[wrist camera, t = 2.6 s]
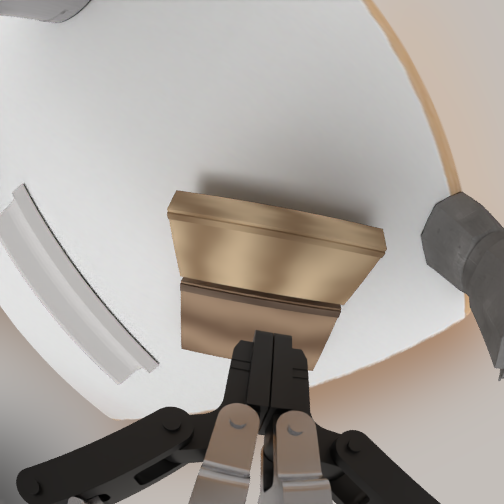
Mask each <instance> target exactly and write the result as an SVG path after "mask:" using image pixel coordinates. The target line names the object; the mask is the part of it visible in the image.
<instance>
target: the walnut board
mask: <svg viewBox="0 0 504 504" xmlns="http://www.w3.org/2000/svg"><path fill="white" fill-rule="evenodd" d="M180 291H181V345H182V349H186V350H190V351H194V352H199V353H203V354H208V355H213V356H218V357H223V358H228V359H232V355H233V350H234V347H235V346H236V345H237V344H238V343H239V341H240V340H244V341H250V342H253V338H254V334H255V330H260V331H266V332H272V333H273V334H274V333H278V334H285V335H291V336H292V348H294V349H301V350H302V351H303V353H304V354H305V356H306V358H307V362H308V370H310V371H313V369H314V367H315V365H316V363H317V361H318V359H319V357H320V355H321V353H322V351H323V349H324V346H325V344H326V342H327V340H328V338H329V336H330V334H331V331H332V329H333V327H334V325H335V322H336V320H337V318H338V317H339V315H340V313H341V306H340V304H335V303H328V302H321V301H315V300H309V299H302V298H296V297H290V296H284V295H278V294H272V293H266V292H261V291H255V290H249V289H244V288H238V287H233V286H228V285H222V284H217V283H212V282H207V281H202V280H197V279H192V278H187V277H183V278H182V280H181V284H180Z"/></svg>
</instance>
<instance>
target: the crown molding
mask: <svg viewBox="0 0 504 504" xmlns="http://www.w3.org/2000/svg"><path fill="white" fill-rule="evenodd" d="M12 194H13V196H14V199H13V201H12V202H11V204H10V205H9V206H8V207H7V208H6V209H5V210H4V211H3V212H2V213H1V214H0V241H1V243H2V245H3V247H4V248H5V250H6V252H7V253H8V255H9V257H10V258H11V260H12V261H13V263H14V265H15V266H16V268H17V269H18V271H19V272H20V274H21V275H22V277H23V278H24V280H25V281H26V282H27V284H28V285H29V287H30V288H31V290H32V291H33V292H34V294H35V295H36V296H37V298H38V299H39V300H40V302H41V303H42V304H43V306H44V307H45V308H46V309H47V311H48V312H49V313H50V314H51V316H52V317H53V318H54V319H55V320H56V322H57V323H58V324H59V325H60V326H61V327H62V329H63V330H64V331H65V332H66V333H67V334H68V335H69V337H70V338H71V339H72V340H73V341H74V342H75V343H76V344H77V345H78V346H79V347H80V348H81V350H82V351H83V352H84V353H85V354H86V355H87V356H88V357H89V358H90V359H91V360H92V361H93V362H94V363H95V364H96V365H97V366H98V367H99V368H100V369H101V370H102V371H104V372H105V373H106V374H107V375H108V376H109V377H110V378H111V379H112V380H113V381H114V382H115V383H117V384H122V383H123V382H124V381H125V380H126V379H127V378H128V377H129V376H130V375H131V374H133V373H134V372H135V371H136V370H138V369H141V368H145V369H146V370H147V371H148V372H149V373H151V372H152V371H153V370H154V369H155V368H156V367H157V366H158V365H159V364H158V363H157V362H156V361H155V360H154V359H153V358H152V357H151V356H150V355H149V354H148V353H147V352H146V351H145V350H144V349H143V348H142V347H141V346H140V345H139V344H138V343H137V342H136V341H135V340H134V339H133V338H132V337H131V336H130V334H129V333H128V332H127V331H126V330H125V329H124V328H123V327H122V326H121V324H120V323H119V322H118V321H117V320H116V319H115V318H114V316H113V315H112V314H111V313H110V312H109V311H108V309H107V308H106V307H105V306H104V305H103V303H102V302H101V301H100V300H99V299H98V297H97V296H96V295H95V294H94V292H93V291H92V290H91V289H90V287H89V286H88V285H87V283H86V282H85V281H84V279H83V278H82V277H81V275H80V274H79V273H78V271H77V270H76V269H75V267H74V266H73V264H72V263H71V262H70V260H69V259H68V257H67V256H66V254H65V253H64V252H63V250H62V249H61V247H60V246H59V244H58V243H57V241H56V240H55V238H54V237H53V235H52V233H51V232H50V230H49V229H48V227H47V225H46V224H45V222H44V220H43V219H42V217H41V215H40V214H39V212H38V210H37V209H36V207H35V205H34V203H33V202H32V200H31V198H30V196H29V194H28V192H27V191H26V189H25V187H24V185H23V184H22V185H21V186H19V187H18V188H17V189H16V190H15V191H14V192H12Z"/></svg>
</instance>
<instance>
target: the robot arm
mask: <svg viewBox="0 0 504 504" xmlns="http://www.w3.org/2000/svg"><path fill="white" fill-rule="evenodd" d="M89 1H90V0H0V16H11V17H20V18H27V19H34V20H39V21H43V22H51V23H59V22H63V21H65V20H67V19H69V18H70V17H72V16H74V15H75V14H76V13H77V12H79V11H80V10H81V9H82V8H83V7H84V6H85V5H86V4H87V3H88V2H89ZM257 434H259V435H265V437H264V445H263V447H262V449H261V485H260V487H261V488H260V496H259V500H258V504H333V503H332V500H333V501H334V502H335V503H336V504H440V503H439V502H438V501H437V500H436V499H434V498H433V497H432V496H431V495H430V494H428V492H426V491H425V490H424V489H423V488H422V487H421V486H420V485H419V484H417V483H416V482H415V481H414V480H413V479H412V478H411V477H410V476H409V475H408V474H406V473H405V472H404V471H403V470H402V469H401V468H400V467H399V466H398V465H397V464H396V463H394V462H393V461H392V460H391V459H390V458H389V457H388V456H387V455H386V454H385V453H384V452H383V451H382V450H381V449H380V448H379V447H377V445H375V444H374V443H373V441H371V440H370V439H369V438H368V437H367V436H366V435H365V434H364V433H362V432H360V431H356V430H349V431H346V432H344V433H342V434H338V433H335V432H332V431H329V430H326V429H324V428H322V427H320V426H319V425H317V424H316V423H315V422H314V420H313V419H312V416H311V413H310V401H309V381H308V362H307V358H306V356H305V354H304V353H303V351H302V350H301V349H294V348H292V336H291V335H285V334H278V333H274V334H273V333H272V332H266V331H260V330H255V334H254V338H253V342H250V341H244V340H240V341H239V343H238V344H237V345H236V346H235V347H234V350H233V355H232V360H231V365H230V369H229V374H228V379H227V384H226V389H225V394H224V399H223V402H222V404H221V405H220V406H219V407H218V408H217V409H216V410H215V411H213V412H210V413H207V414H196V415H189V414H188V413H187V412H185V411H184V410H182V409H180V408H177V407H165V408H161V409H159V410H157V411H156V412H154V413H152V414H150V415H148V416H146V417H144V418H142V419H140V420H138V421H137V422H135V423H133V424H131V425H129V426H127V427H125V428H123V429H121V430H118V431H116V432H114V433H112V434H110V435H108V436H106V437H104V438H102V439H99V440H97V441H95V442H93V443H91V444H88V445H86V446H84V447H81V448H79V449H77V450H74V451H72V452H69V453H67V454H65V455H62V456H59V457H57V458H54V459H51V460H49V461H47V462H43V463H41V464H38V465H35V466H32V467H29V468H26V469H24V470H22V471H21V472H20V473H19V474H18V476H17V480H16V484H17V489H18V491H19V494H20V495H21V497H22V498H23V499H24V500H25V501H26V502H27V503H29V504H115V503H117V502H119V501H121V500H123V499H125V498H127V497H129V496H131V495H133V494H135V493H137V492H139V491H141V490H143V489H145V488H147V487H149V486H151V485H152V484H154V483H156V482H158V481H160V480H161V479H163V478H164V477H167V476H168V475H170V474H172V473H173V472H175V471H176V470H178V469H180V468H181V467H183V466H185V465H186V464H188V463H194V462H203V464H202V466H201V468H200V470H199V473H198V476H197V479H196V482H195V485H194V488H193V492H192V494H191V497H190V501H189V504H245V502H246V497H247V493H248V488H249V483H250V469H251V464H252V459H253V454H254V449H255V444H256V439H257Z"/></svg>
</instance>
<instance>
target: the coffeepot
mask: <svg viewBox="0 0 504 504" xmlns="http://www.w3.org/2000/svg"><path fill="white" fill-rule="evenodd" d="M421 237H422V243H423V250H424V253H425V256H426V261H427V265H429V266H430V267H431V268H433V269H434V270H435V271H436V272H438V273H439V274H440V275H442V276H443V277H444V278H445V279H447V280H448V281H449V282H450V283H452V284H453V285H454V286H455V287H456V288H458V289H459V290H460V291H462V292H464V293H466V294H467V295H468V296H469V302H470V308H471V310H472V312H473V314H474V317H475V319H476V321H477V324H478V326H479V328H480V331H481V333H482V335H483V338H484V341H485V343H486V346H487V348H488V351H489V354H490V356H491V359H492V362H493V365H494V367H495V368H500V375H499V381H500V380H501V378H504V228H503V227H502V226H501V225H500V224H499V223H498V221H497V220H496V219H495V218H494V217H493V216H492V215H491V214H490V213H489V212H488V211H487V210H486V209H485V208H484V207H483V206H482V205H481V204H480V203H478V202H477V201H475V200H473V199H472V198H471V197H469V196H468V195H466V194H465V193H463V192H461V193H458V194H455V195H453V196H450V197H448V198H446V199H444V200H443V201H441V202H440V203H439V204H436V206H435V208H434V209H433V211H432V212H431V214H430V216H429V218H428V220H427V222H426V225H425V228H424V232H423V234H422V236H421Z"/></svg>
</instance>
